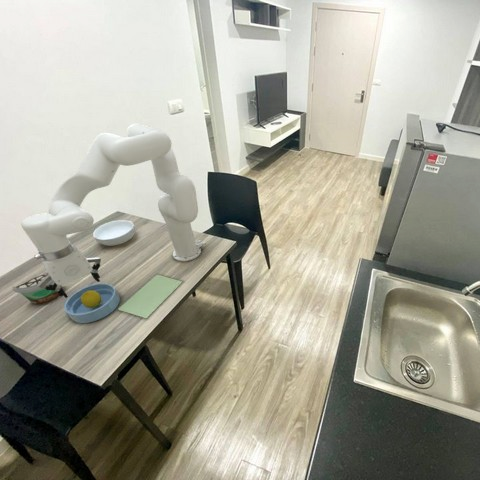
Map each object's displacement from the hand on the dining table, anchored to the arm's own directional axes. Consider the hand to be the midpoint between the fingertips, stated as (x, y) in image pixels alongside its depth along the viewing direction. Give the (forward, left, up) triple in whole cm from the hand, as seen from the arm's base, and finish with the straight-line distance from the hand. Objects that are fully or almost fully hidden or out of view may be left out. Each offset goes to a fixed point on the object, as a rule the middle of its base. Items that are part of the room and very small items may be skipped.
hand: (81, 287), depth 93 cm
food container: (+11, -16, -11) cm, 22 cm away
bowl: (0, 0, -11) cm, 11 cm away
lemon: (0, 0, -11) cm, 11 cm away
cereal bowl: (-19, -40, -11) cm, 46 cm away
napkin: (-17, +8, -11) cm, 22 cm away
